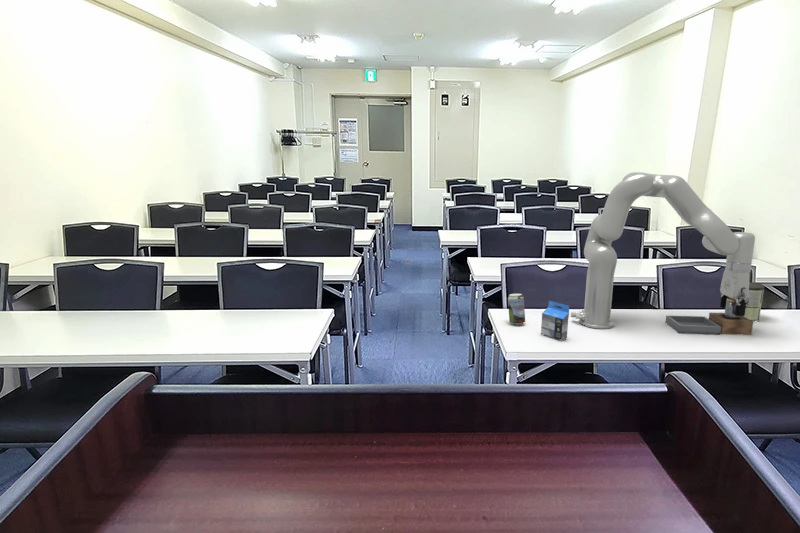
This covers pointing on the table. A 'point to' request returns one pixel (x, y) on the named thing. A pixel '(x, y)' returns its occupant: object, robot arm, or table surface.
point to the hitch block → (732, 324)
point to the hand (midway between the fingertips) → (731, 311)
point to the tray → (693, 325)
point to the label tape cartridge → (555, 321)
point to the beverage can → (516, 309)
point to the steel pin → (730, 308)
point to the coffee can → (754, 301)
